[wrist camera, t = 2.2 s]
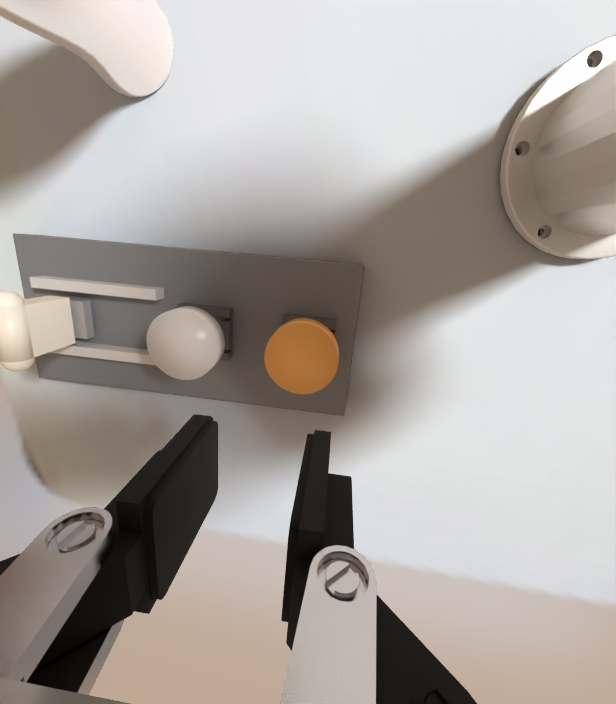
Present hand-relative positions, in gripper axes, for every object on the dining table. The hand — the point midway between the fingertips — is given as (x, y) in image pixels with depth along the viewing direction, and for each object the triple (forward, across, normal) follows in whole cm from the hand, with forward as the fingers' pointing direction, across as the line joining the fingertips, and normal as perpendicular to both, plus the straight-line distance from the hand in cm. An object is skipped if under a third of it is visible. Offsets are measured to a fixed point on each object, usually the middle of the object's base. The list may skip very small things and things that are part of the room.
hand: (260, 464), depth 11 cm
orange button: (+13, 0, 0) cm, 13 cm away
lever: (+15, +19, 0) cm, 24 cm away
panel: (+17, +10, 0) cm, 20 cm away
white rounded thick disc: (+13, +8, 0) cm, 16 cm away
